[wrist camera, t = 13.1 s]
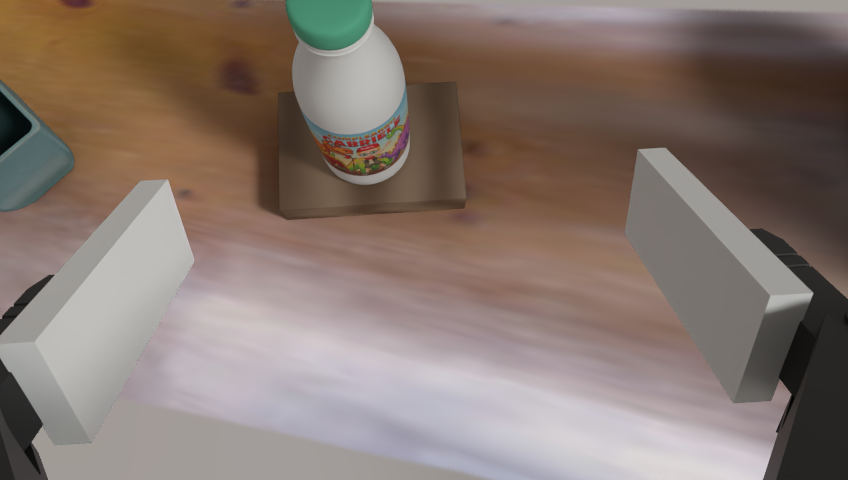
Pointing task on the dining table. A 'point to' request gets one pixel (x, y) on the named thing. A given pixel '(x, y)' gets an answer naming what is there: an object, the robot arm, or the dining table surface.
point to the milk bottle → (350, 88)
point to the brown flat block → (403, 192)
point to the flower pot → (27, 154)
